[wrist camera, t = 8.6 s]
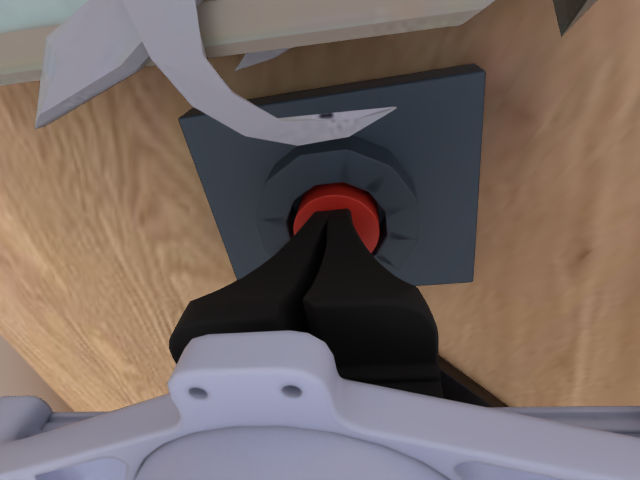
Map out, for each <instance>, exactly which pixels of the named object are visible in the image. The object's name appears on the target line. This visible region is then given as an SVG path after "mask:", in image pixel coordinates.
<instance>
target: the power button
mask: <svg viewBox="0 0 640 480" xmlns="http://www.w3.org/2000/svg"><path fill="white" fill-rule="evenodd" d="M347 208H348V209H349V210H350V211H351V215H352V222H353V225H354V227H355V229H356V231H357V233H358V235H359V237H360V238H361V240H362V242H363V243H364V245H365V246H366V248H367V249H368V250H369V251H370V253H372V251H373V250H374V249H375V247H376V245H377V243H378V239H379V215H378V204H377V202H376V200H375V199H374V198H373V197H372V195H371V194H370V193H369V192H368V191H365V190H362V189H360V188H357V187H355V186H352V185H349V184H347V183H344V182H340V183H331V184H322V185H315V186H314V187H312V188H311V189H309V190H308V191H307V192H305V193H304V194H303V195H302V198H301V201H300V204H299V208H298V211H297V214H296V218H295V221H294V227H293V232H294V235H295V234H296V233H297V232H298V231H299V230H300V228H301V227H302V226H303V225H304V224H305V223H306V221H307V220H308V219H309V218H310V217H311V215H312V214H313V213H314V212H317V211H327V210H337V209H347Z"/></svg>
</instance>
